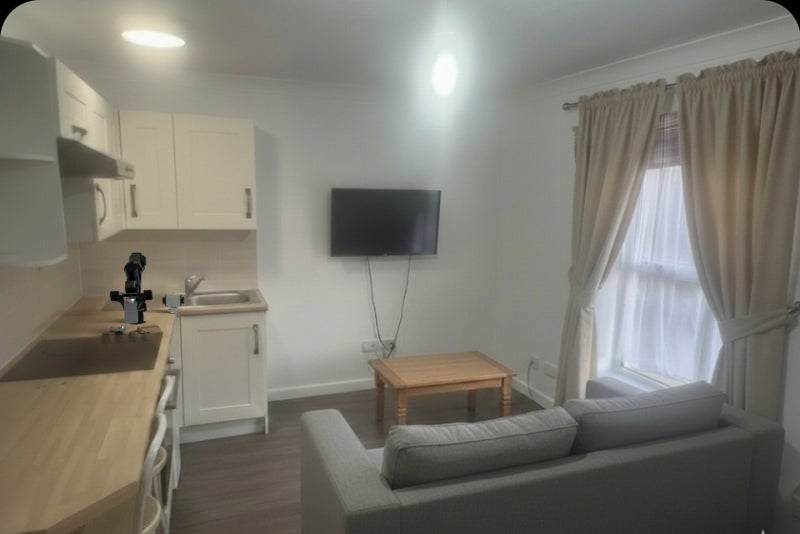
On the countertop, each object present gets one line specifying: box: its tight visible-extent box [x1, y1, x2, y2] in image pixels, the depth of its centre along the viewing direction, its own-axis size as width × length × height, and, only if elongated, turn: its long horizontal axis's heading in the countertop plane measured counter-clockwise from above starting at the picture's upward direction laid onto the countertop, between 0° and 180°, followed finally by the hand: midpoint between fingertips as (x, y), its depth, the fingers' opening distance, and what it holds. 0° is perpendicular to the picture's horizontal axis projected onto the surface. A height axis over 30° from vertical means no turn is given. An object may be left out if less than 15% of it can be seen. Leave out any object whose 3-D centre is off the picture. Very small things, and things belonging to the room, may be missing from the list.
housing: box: [123, 297, 138, 325], centre depth 251 cm, size 4×6×12 cm
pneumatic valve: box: [161, 293, 186, 315], centre depth 305 cm, size 6×12×12 cm, turn 106°
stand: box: [136, 323, 162, 334], centre depth 262 cm, size 9×9×2 cm
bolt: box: [109, 324, 127, 333], centre depth 258 cm, size 7×4×4 cm, turn 83°
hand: (130, 309), depth 250 cm, fingers closed on housing, 5 cm apart
